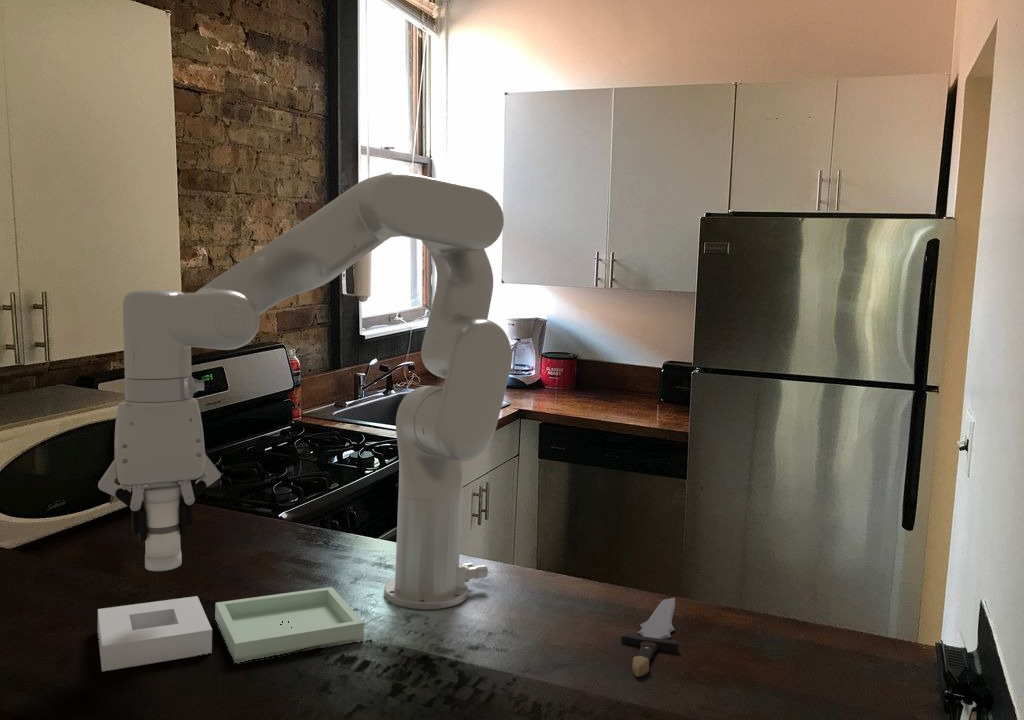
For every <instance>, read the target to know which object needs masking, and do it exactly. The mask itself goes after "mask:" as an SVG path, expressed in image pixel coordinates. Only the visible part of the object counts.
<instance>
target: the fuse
mask: <svg viewBox="0 0 1024 720" xmlns="http://www.w3.org/2000/svg"><path fill="white" fill-rule="evenodd" d="M180 497H181V491H180V485H179V483H177V482H173V483H163V484H153V485H145V488H144V493H143V498H142V502H143V506H144V508H145V510H146V541H145V542H144V543H145V547H144V549H145V554H144V568H145V570H148V571H150V572H151V571H152V572H165V571H169V570H174V569H177V568H178V567H180V566H181V565H182V563H183V562H182V560H183V559H182V550H181V535H180V511H179V500H180Z"/></svg>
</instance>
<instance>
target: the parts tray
mask: <svg viewBox="0 0 1024 720" xmlns="http://www.w3.org/2000/svg"><path fill="white" fill-rule="evenodd" d="M214 607H215V608H214V609H215V610H214V611H215V612H214V616H215V618H214V621H215V620H216V622H217V624H218V626H217V628H218V627H219V628H218V630H219V629H220V630H219V632H220V631H221V633H220V635H221V634H222V635H221V637H222V636H223V637H222V639H223V638H224V639H223V641H224V640H225V641H224V643H226V644H225V645H227V646H226V648H227V647H228V648H227V651H228V652H229V654H231V655H230V656H232V657H231V659H232V658H233V659H232V661H233V660H234V661H233V663H234V664H235V663H237V664H241V663H240V662H243V663H245V662H244V661H248V660H252V659H257V658H258V659H259V658H264V657H269V656H273V655H280V654H284V653H289V652H293V651H296V650H300V649H304V648H308V647H313V646H318V645H325V644H332V643H342V642H347V641H348V642H349V641H359V640H363V641H364V636H365V634H364V631H365V622H364V621H363V620H362V619H361V617H359V615H358V614H357V613H356V612H355V611H354V610H353V609H352V607H351V606H350V605H349V604H348V603H347V602H346V601H345V599H344V598H343V597H342V596H341V595H340V594H339V593H338V592H337V591H336V589H334V587H333V586H329V587H323V588H322V587H321V588H314V589H305V590H299V591H291V592H290V591H289V592H285V593H276V594H270V595H262V596H256V597H255V596H254V597H247V598H241V599H232V600H227V601H226V600H225V601H224V600H223V601H218V602H215V605H214ZM282 621H283V623H282ZM288 621H289V623H288ZM216 622H215V623H216ZM217 624H216V625H217ZM280 624H282V625H280ZM291 627H292V628H291Z"/></svg>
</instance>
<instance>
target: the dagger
mask: <svg viewBox="0 0 1024 720" xmlns="http://www.w3.org/2000/svg"><path fill="white" fill-rule="evenodd" d="M675 609H676V598H675V597H671V598H665V599H662V600H661V602H660V603H659V604H658V605H657V607H656V608H655V610H654V611H653V612H652V614H651V615H650V617H649V618H648V620H646V621H644V622H643V623H641V624H640V625H639V626H640V627H641V629H640V630H639V631H637V634H631V633H626V634H623V635H621V639H620V643H621V644H625V645H629V646H632V647H633V646H634V647H638V648H639V651H638V655H636V656H633V658H632V664H631V665H632V672H633V674H634V676H635V677H637V678H640V677H643V676H645V675H647V674H648V673H649V671H650V660H651V659H652V657H653V656H654V654H655V653H656V652H657V651H660V652H667V653H674V654H675V653H676V654H679V652H680V650H679V649H680V648H679V647H680V644H679V643H678V642H677V640H675V639H671V638H672V635H671V633H672V632H673V631H675V627H674V626H673V617H674V613H675ZM638 634H639V635H638Z"/></svg>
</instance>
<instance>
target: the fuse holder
mask: <svg viewBox="0 0 1024 720" xmlns="http://www.w3.org/2000/svg"><path fill="white" fill-rule="evenodd" d="M97 639H99V640H98V646H99V647H98V649H99V657H100V667H101V672H106V671H108V672H109V671H114V670H119V669H125V668H131V667H132V668H133V667H139V666H143V665H150V664H155V663H161V662H167V661H173V660H179V659H186V658H191V657H192V658H193V657H198V655H199V656H203V655H204V654H205V655H209V654H210V653H211V654H213V653H212V651H213V628H212V626H211V623H210V622H209V619H208V617H207V615H206V613H205V610H204V608H203V605H202V603H201V601H200V598H199V597H198V595H196V596H189V597H188V596H187V597H182V598H172V599H166V600H165V599H163V600H157V601H150V602H142V603H134V604H126V605H120V606H111V607H104V608H97ZM208 653H209V654H208ZM202 654H203V655H202ZM205 655H204V656H205Z"/></svg>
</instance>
